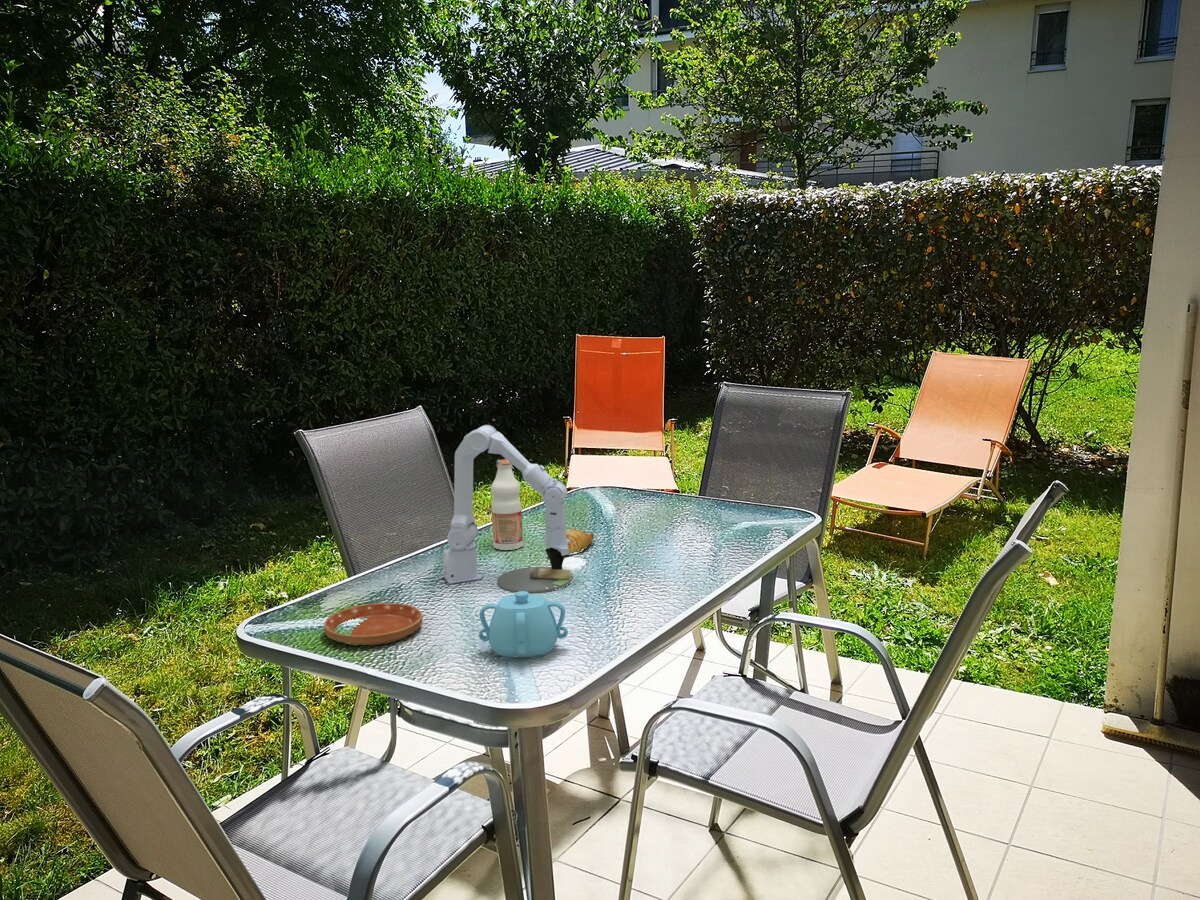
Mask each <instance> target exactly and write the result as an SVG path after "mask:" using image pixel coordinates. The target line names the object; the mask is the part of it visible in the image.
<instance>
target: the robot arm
mask: <svg viewBox="0 0 1200 900" xmlns="http://www.w3.org/2000/svg"><path fill="white" fill-rule="evenodd" d="M486 450H488V452H487V453H488V454H494V455H501V457H503V458H504V459H507V460H508V461H509V462H510V463H511V464H512V466H514V467H515V468H516V469H517V470H519V471H520V472H521V473H522V474H521V475H522V479H523V481H524V482H525V483H527V484H528V485H529V486H530V487H531V488H532V489H533V490H534V491H535V492H536V493H538V494H539V495H541V498H542V501H543V503H544V504H545V509H544V511H545V512H544V513H545V514H544V517H545V519H544V520H545V521H544V522H545V535H544V536H543V539H544V540H543V541H544V545H545V546H546V547H548V548H545V549H544V551H545V553H546V555H547V557H548V559H549V563H550V567H551V568H552V569H563V563H564V561H565V558H566V556H565V555H569V548H568V546H567V544H568V543H571V541H570V540H569V539H566V531H567V510H566V500H565V499H567V495H568V488H567V487H566V485H565V484H564V483H563V482H562V481H559V480H558V479H557V478H553V477H552V476H551V475H550V474H549V473H548V472H547V471H546V470H545V469H546V468H545V467H544V465H542V464H541V465H540V464H538V463H532V462H529V460H528V459H526V457H525V456H523V454H522V453H520V451H519V450H518V449H516V447H515V446H514V445H513V444H511V442H510V441H508V439H507V438H506V437H505V436H504V434H502V433H501V432H500V431H497V429H496V428H495V427H494V426H492V425H491V424H484V425H481V426H480V427H478V428H477V429H473V430H472V431H470V432H469V433H467V434H465V436H464V437H463V440H462V441H461V442H460V444H459V445H458V447H457V448H456V450H455V452H454V476H453V477H454V482H453V483H454V491H453V493H454V494H453V495H454V496H453V517H452V519H451V521H450V528H449V532H448V533H447V537H446V541H447V544H448V545H449V548H448V549H443V551H442V570H443V571H442V573H443V574H442V577H443V576H444V577H443V579H445V581H446V582H447V583H448V584H455V583H456V584H457V583H464V582H471V581H476V580H482V579H483V577H482V576H481V574H480V573H479V572H478V557H477V556H478V553H477V552H478V551H477V542H475V540H476V538H477V536H478V535H479V529H478V526H477V525H476V517H475V515H474V513H473V512H474V511H473V509H474V508H473V507H474V505H473V502H474V501H473V500H474V497H473V496H474V459H475V458H476V457H478V455H480V454H481V453H484V452H485V451H486ZM569 556H570V555H569Z"/></svg>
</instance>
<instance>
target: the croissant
mask: <svg viewBox="0 0 1200 900" xmlns="http://www.w3.org/2000/svg"><path fill="white" fill-rule="evenodd" d="M566 539H569V540H570V541H571V543H568V544H567V546H568V548H569V554H570V553H574V552H580V551H581V550H582V549H585V548H586V547H587V546H588V545H589V544H590V543H591V542H592V543H593V540H594V534H592V533H587V532H583V531H581V530H580V529H574V528H573V529H568V530H566ZM592 543H591V544H592ZM591 544H590V545H591ZM590 545H589V546H590ZM589 546H588V547H589ZM588 547H587V548H588ZM580 553H581V552H580Z"/></svg>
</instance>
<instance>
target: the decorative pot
mask: <svg viewBox="0 0 1200 900" xmlns="http://www.w3.org/2000/svg"><path fill="white" fill-rule="evenodd" d="M551 607H556V608H558V609H559V610H560V615H559V619H558V622H557V620H556V617H555V615H554V611H553V610H552V608H551ZM489 609H490V610H491V609H492V610H494V611H493V614H492V616H491V619H490V623H489V624H488V621H487V620H486V617H485V611H487V610H489ZM565 617H566V608H565V606H564V605H563V604H562V603H561V602H559V601H556V600H552V601H551V600H550V601H548V600H547V599H546V597H545V596H543V595H540V594H534V593H528V592H526V591H519V592H514V595H513V594H511V595H506V596H503V597H501V598H500V599H499V600H498V602H497V603H490V602H489V603H487V604H485V605H483V606H482V607H481V609H480V611H479V619H480V621H481V624H482V627H483V628H482V629H481V630H479V632H478V638H479V639H480V640H481V641H482V642H488V643H489V646H490V648H491V649H492V650H493V651H494V653H495V654H496V655H499V656H502V658H503V659H506V660H511V659H514V658H524V657H525V658H527V657H528V658H529V657H532V658H535V659H538V658H542V657H544V655H545V654H548V653H549V652H551V651H552V650H553V648H554V646H555V645H556V643H557V641H558V639H560V640H562V639H565V638H566V637H567V636H568V634H569V633H568V632H569V631H568V629H567V627H565V626H563V623H564V621H565ZM561 631H563V633H561ZM484 633H485V634H486V635H484Z"/></svg>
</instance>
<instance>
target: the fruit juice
mask: <svg viewBox="0 0 1200 900" xmlns="http://www.w3.org/2000/svg"><path fill="white" fill-rule="evenodd" d="M495 463H496V468H497V471H496V475H495V478H494V480H493V481H492V484H490V485H491V486H490V491H491V495H492V501H491V526H492V527H491V528H492V545H493V549H494V548H496V549H500V550H512V549H517V548H520V547H522V548H523V546H524V537H523V532H524V531H523V515H522V514H523V513H522V510H523V508H522V502H521V499H520V493H521V485H520V483H519V481H518V480H517V479H516V477H515V474H514V471H513V467H512V466H513V464H511V463H510V462H509V461H508V460H507V459H505V458H504V459H499V460H496V462H495ZM522 545H523V546H522ZM496 549H495V550H496ZM520 549H521V548H520Z"/></svg>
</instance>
